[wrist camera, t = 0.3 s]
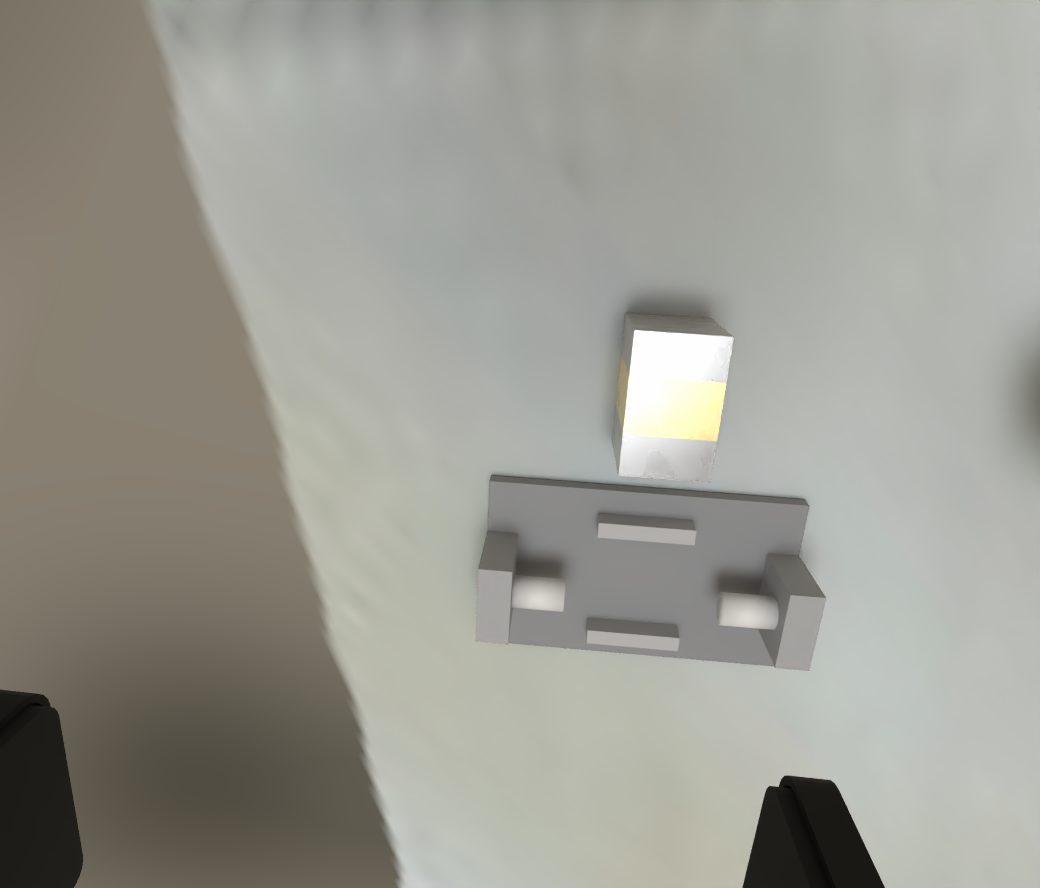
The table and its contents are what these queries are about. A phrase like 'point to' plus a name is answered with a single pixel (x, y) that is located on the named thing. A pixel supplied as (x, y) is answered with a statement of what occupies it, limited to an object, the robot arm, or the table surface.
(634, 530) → the shaft stand
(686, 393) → the coupler
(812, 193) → the table surface
